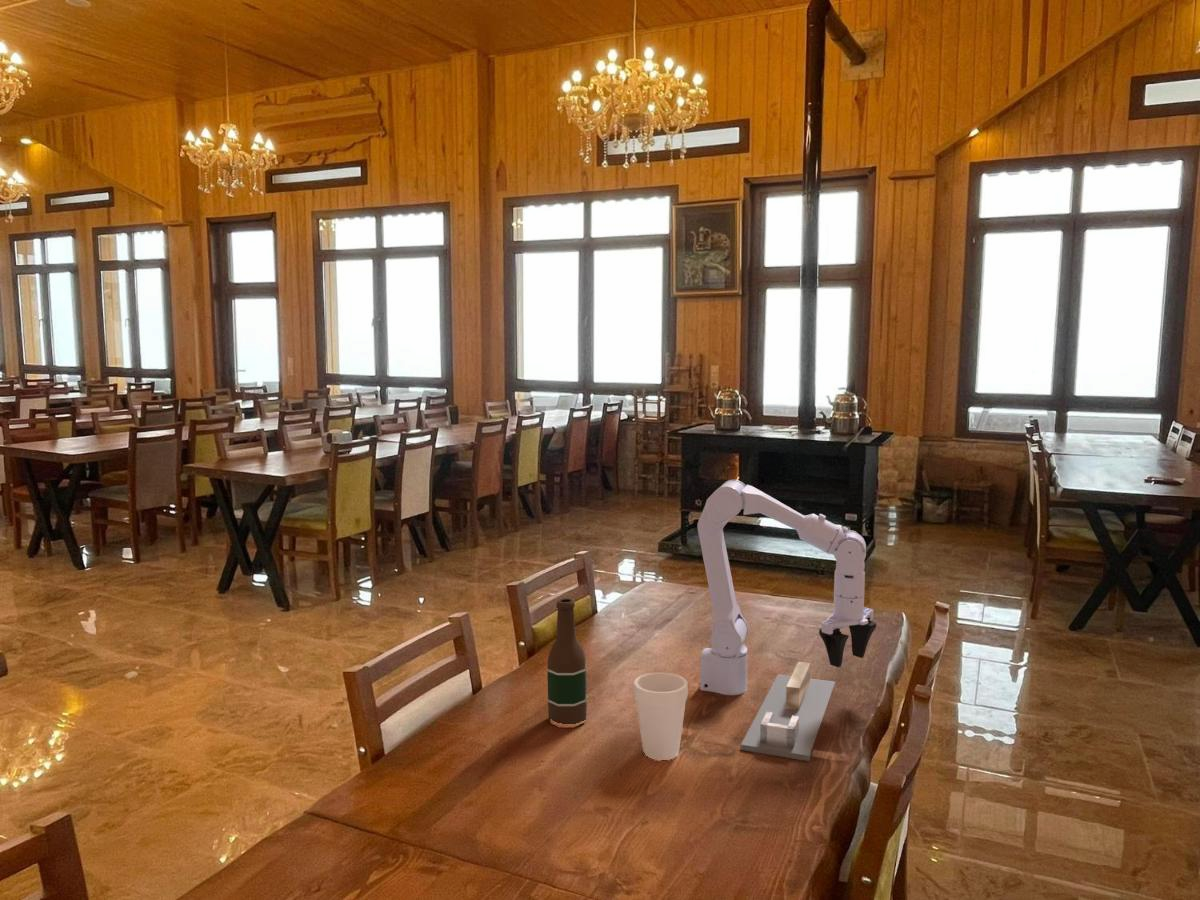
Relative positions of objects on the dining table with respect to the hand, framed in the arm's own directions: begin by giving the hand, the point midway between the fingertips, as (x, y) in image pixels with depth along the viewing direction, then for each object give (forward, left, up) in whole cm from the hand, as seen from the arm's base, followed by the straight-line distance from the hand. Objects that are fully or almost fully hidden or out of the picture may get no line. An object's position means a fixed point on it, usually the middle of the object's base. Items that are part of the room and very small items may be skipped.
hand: (846, 660), depth 169 cm
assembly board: (-9, -8, -9) cm, 15 cm away
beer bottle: (-49, -26, -10) cm, 56 cm away
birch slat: (-9, -1, -8) cm, 12 cm away
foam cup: (-28, -32, -10) cm, 43 cm away
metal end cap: (-9, -21, -8) cm, 24 cm away
